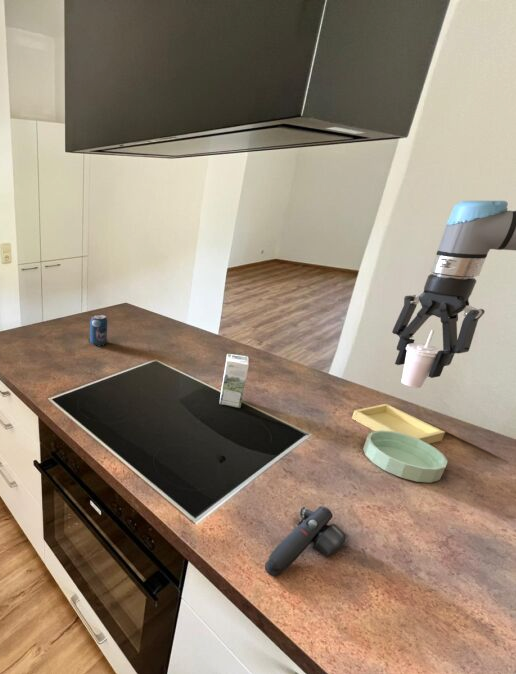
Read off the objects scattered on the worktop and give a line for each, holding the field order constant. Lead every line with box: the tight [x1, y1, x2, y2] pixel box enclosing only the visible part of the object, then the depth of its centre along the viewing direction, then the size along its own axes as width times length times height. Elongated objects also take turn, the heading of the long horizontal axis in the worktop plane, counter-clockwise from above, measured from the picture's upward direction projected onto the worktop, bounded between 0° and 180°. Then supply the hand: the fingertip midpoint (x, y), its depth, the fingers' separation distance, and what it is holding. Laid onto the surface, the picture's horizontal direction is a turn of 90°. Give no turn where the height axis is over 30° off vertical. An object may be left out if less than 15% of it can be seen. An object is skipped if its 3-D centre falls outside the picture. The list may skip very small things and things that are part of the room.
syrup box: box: [219, 353, 250, 409], centre depth 104 cm, size 6×6×14 cm
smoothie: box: [400, 329, 442, 389], centre depth 86 cm, size 6×6×14 cm
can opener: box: [264, 506, 347, 578], centre depth 61 cm, size 18×7×6 cm, turn 118°
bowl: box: [362, 430, 449, 483], centre depth 81 cm, size 13×13×4 cm
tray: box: [351, 403, 446, 445], centre depth 93 cm, size 14×12×3 cm
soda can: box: [89, 313, 108, 347], centre depth 148 cm, size 7×7×12 cm
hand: (416, 369), depth 87 cm, fingers closed on smoothie, 6 cm apart
